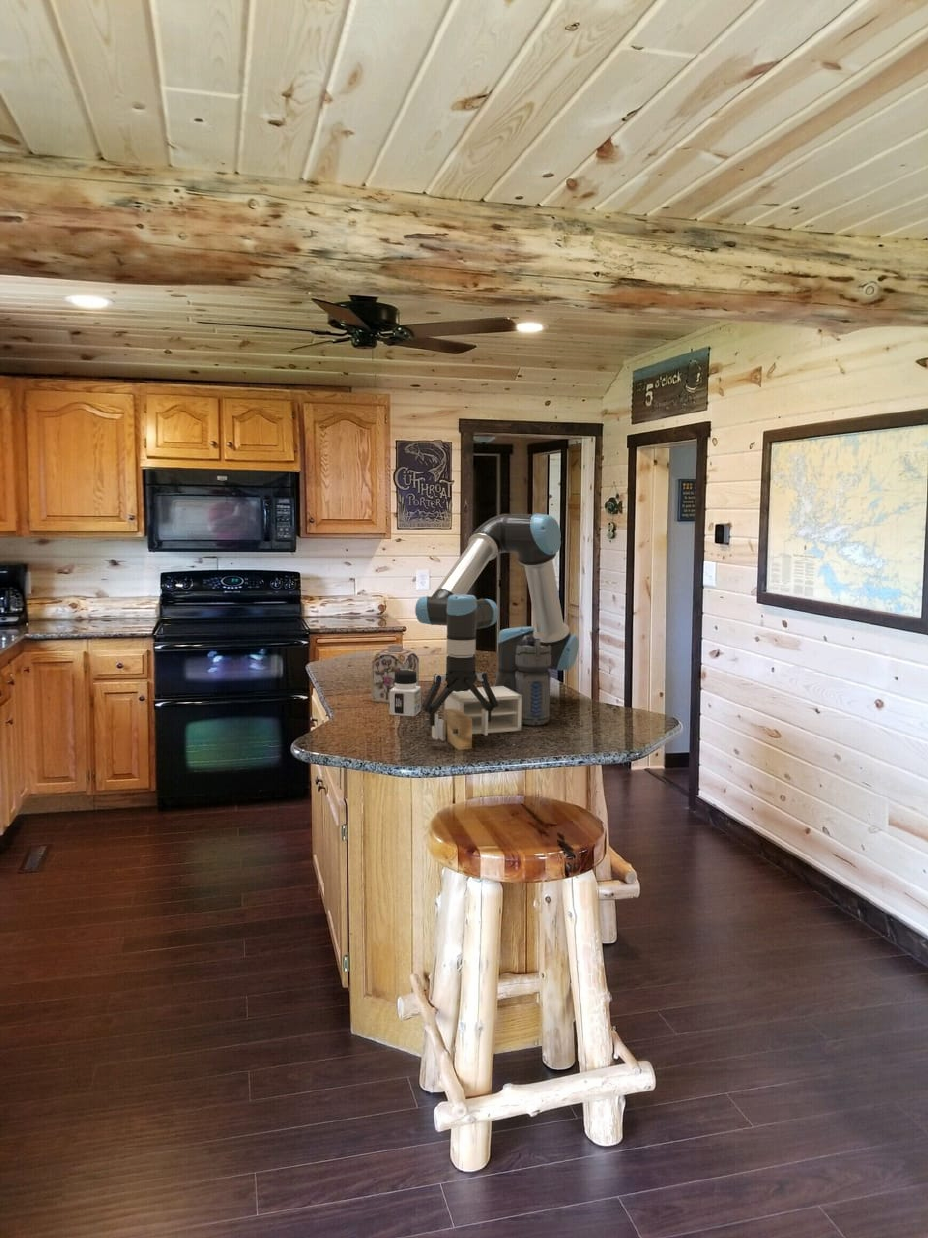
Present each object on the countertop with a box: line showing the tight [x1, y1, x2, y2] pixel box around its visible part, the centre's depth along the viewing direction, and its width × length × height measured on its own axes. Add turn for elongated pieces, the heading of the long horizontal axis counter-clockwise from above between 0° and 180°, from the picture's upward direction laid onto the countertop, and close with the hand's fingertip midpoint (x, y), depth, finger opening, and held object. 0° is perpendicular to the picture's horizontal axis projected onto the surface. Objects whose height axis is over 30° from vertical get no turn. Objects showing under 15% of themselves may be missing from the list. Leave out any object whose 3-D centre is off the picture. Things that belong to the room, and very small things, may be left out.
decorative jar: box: [371, 643, 420, 704], centre depth 276 cm, size 12×12×18 cm
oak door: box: [443, 709, 473, 751], centre depth 224 cm, size 4×12×8 cm, turn 19°
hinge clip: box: [438, 718, 446, 742], centre depth 229 cm, size 6×4×5 cm, turn 109°
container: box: [389, 670, 422, 717], centre depth 258 cm, size 8×8×13 cm
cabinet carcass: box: [443, 686, 522, 735], centre depth 242 cm, size 18×14×10 cm
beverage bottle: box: [515, 636, 552, 727], centre depth 248 cm, size 10×13×25 cm
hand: (460, 736), depth 223 cm, fingers open, 13 cm apart
